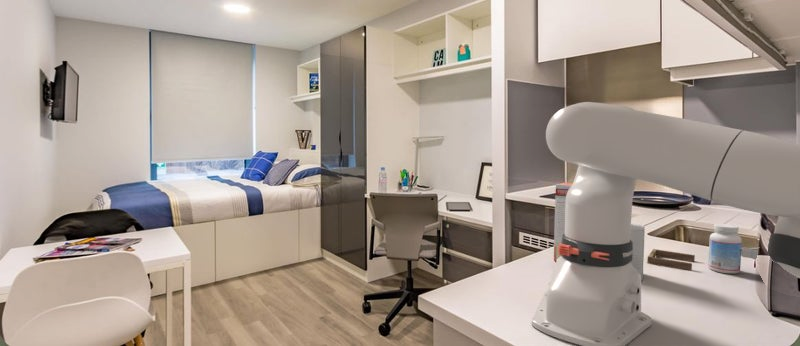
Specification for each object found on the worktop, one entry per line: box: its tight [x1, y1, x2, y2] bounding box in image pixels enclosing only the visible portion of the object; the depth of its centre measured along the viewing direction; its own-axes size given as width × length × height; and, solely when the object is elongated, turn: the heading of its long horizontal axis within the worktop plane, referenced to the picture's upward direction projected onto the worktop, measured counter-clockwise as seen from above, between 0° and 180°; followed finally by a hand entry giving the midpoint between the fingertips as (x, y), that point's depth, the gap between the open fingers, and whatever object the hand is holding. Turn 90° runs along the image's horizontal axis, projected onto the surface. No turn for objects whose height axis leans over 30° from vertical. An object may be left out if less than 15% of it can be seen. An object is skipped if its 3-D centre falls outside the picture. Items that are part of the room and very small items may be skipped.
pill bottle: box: [707, 223, 743, 275], centre depth 96 cm, size 6×6×11 cm
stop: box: [647, 248, 696, 271], centre depth 104 cm, size 10×9×2 cm
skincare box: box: [630, 223, 646, 282], centre depth 93 cm, size 6×4×12 cm
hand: (741, 251), depth 95 cm, fingers closed
